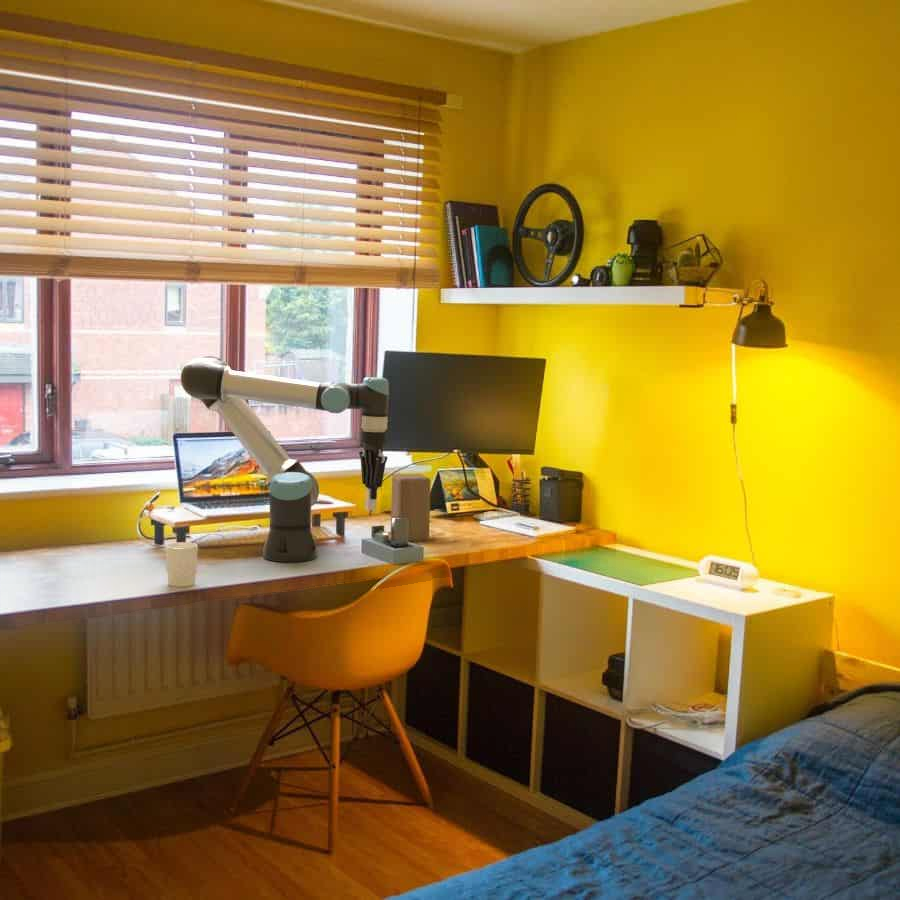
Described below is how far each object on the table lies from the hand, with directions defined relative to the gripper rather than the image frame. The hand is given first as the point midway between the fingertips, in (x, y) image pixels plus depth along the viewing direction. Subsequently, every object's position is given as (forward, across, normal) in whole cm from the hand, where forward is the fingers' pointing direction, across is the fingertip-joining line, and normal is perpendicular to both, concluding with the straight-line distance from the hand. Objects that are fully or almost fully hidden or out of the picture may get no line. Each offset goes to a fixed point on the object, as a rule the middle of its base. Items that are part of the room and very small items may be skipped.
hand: (370, 509), depth 324 cm
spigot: (+12, -16, -1) cm, 20 cm away
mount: (+12, -12, -1) cm, 17 cm away
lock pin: (+8, -8, -1) cm, 11 cm away
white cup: (+13, -16, +63) cm, 66 cm away
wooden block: (+12, +8, -19) cm, 23 cm away
